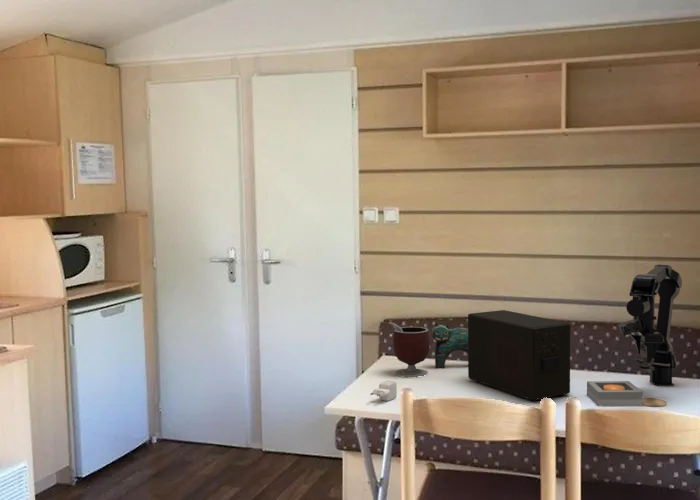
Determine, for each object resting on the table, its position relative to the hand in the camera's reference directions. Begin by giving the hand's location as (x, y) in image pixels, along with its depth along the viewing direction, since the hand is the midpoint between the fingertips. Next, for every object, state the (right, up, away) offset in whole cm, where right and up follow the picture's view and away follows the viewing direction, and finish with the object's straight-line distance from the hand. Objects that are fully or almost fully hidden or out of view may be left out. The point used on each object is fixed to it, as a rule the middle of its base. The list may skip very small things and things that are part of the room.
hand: (644, 358), depth 258 cm
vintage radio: (-39, -12, +12) cm, 42 cm away
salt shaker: (0, -4, 0) cm, 4 cm away
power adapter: (-88, -14, -1) cm, 89 cm away
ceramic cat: (-57, -10, +46) cm, 74 cm away
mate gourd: (-76, -11, +36) cm, 85 cm away
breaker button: (-12, -11, -5) cm, 17 cm away
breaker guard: (-12, -13, -4) cm, 18 cm away
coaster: (-1, -13, -9) cm, 16 cm away
